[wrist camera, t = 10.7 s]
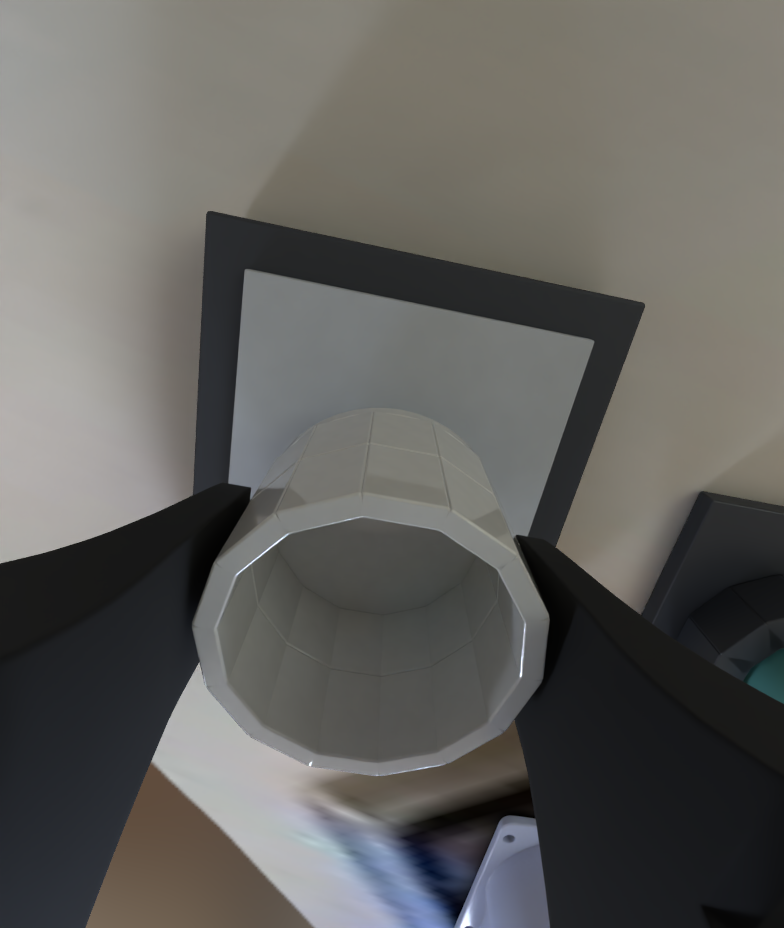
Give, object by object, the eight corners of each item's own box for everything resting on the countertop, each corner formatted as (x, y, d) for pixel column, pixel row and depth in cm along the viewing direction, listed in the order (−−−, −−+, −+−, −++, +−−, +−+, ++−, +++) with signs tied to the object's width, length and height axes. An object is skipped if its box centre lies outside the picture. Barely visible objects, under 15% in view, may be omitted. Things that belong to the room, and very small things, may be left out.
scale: (489, 636, 18) (504, 699, 16) (212, 591, 18) (181, 649, 15) (605, 295, 14) (654, 304, 11) (239, 218, 13) (199, 208, 10)
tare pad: (782, 745, 20) (832, 808, 18) (592, 716, 20) (618, 777, 17) (929, 533, 16) (1017, 578, 14) (700, 490, 16) (751, 530, 14)
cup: (466, 627, 13) (497, 794, 9) (251, 592, 13) (184, 749, 9) (526, 432, 11) (603, 535, 7) (274, 384, 11) (198, 463, 7)
